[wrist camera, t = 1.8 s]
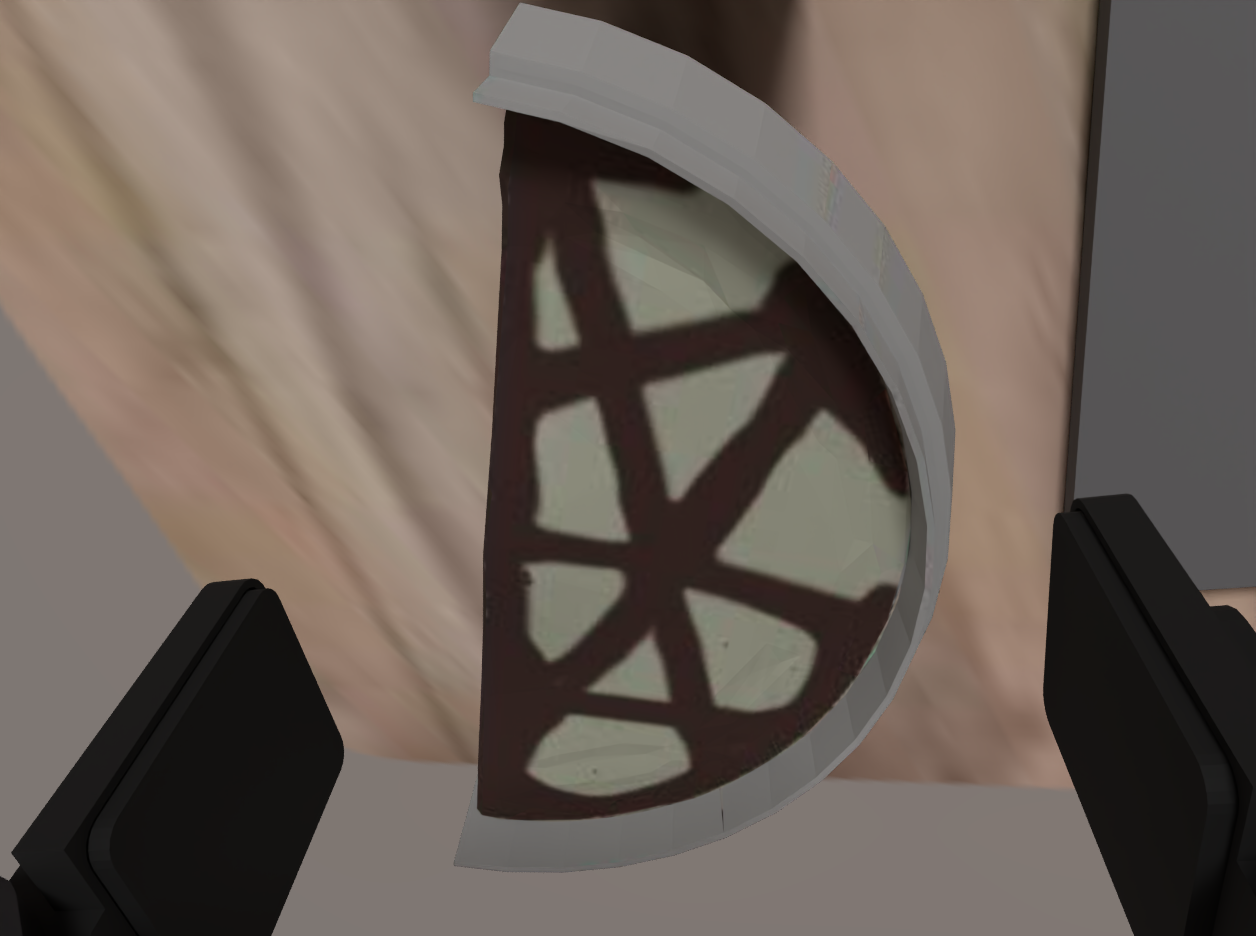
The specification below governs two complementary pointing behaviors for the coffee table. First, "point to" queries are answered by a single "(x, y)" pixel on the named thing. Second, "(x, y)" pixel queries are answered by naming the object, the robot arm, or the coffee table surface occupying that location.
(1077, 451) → the mat
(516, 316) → the food container
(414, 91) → the coffee table surface
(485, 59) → the coffee table surface
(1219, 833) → the robot arm
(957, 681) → the coffee table surface
